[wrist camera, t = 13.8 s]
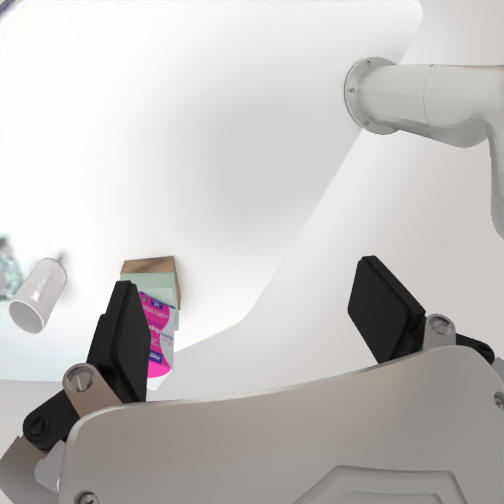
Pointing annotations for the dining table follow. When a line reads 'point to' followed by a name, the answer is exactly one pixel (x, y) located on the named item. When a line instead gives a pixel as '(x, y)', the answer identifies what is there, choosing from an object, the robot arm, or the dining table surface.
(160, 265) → the walnut base block
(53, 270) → the mug
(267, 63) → the dining table surface
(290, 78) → the dining table surface
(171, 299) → the sage top block
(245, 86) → the dining table surface
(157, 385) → the supplement box
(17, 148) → the dining table surface
